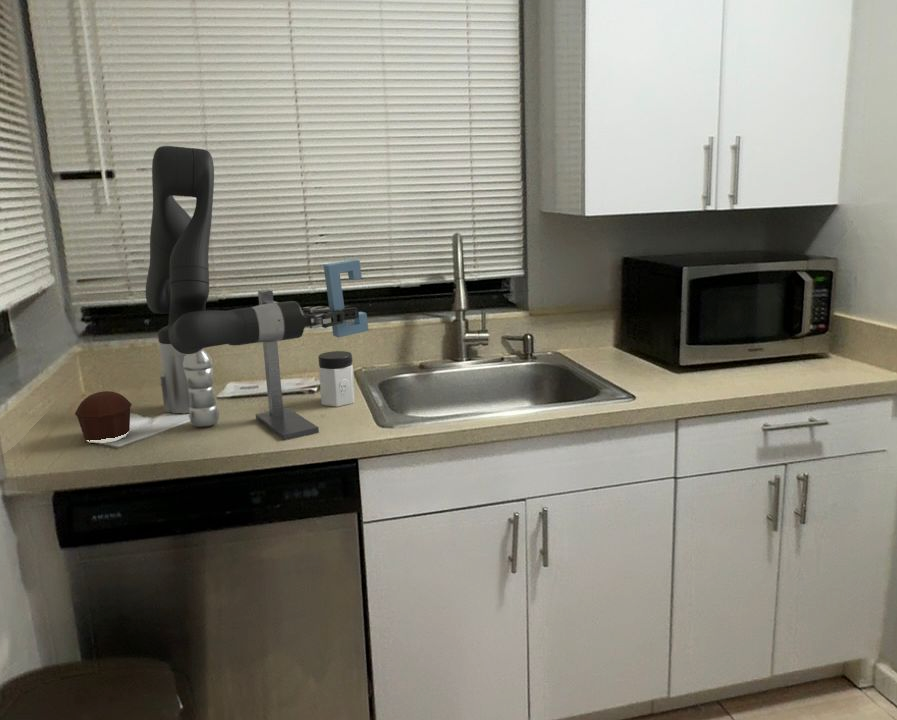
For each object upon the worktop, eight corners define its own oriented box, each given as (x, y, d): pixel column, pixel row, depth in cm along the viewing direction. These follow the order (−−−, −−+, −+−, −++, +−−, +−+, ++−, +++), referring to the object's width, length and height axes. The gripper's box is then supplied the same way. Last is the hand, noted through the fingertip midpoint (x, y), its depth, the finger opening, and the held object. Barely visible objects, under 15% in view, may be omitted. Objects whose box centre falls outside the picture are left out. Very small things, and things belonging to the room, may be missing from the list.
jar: (328, 409, 182) (325, 360, 179) (315, 401, 188) (311, 354, 186) (362, 402, 187) (359, 354, 184) (347, 394, 193) (344, 349, 190)
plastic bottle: (204, 431, 168) (193, 344, 164) (184, 427, 172) (173, 341, 167) (226, 423, 174) (217, 338, 169) (206, 419, 177) (196, 335, 172)
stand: (284, 440, 161) (271, 301, 154) (255, 419, 176) (243, 291, 169) (318, 432, 165) (308, 296, 158) (288, 412, 180) (277, 287, 173)
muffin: (114, 447, 160) (107, 402, 158) (67, 445, 162) (60, 401, 160) (145, 429, 172) (140, 386, 169) (101, 427, 174) (95, 385, 171)
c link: (338, 337, 157) (328, 265, 153) (333, 335, 159) (323, 264, 155) (368, 330, 160) (359, 260, 156) (363, 329, 162) (354, 259, 158)
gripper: (286, 307, 143) (368, 297, 152) (261, 299, 155) (339, 290, 164) (290, 346, 145) (370, 334, 154) (265, 335, 157) (341, 324, 166)
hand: (354, 311), depth 159 cm, fingers closed on c link, 2 cm apart
